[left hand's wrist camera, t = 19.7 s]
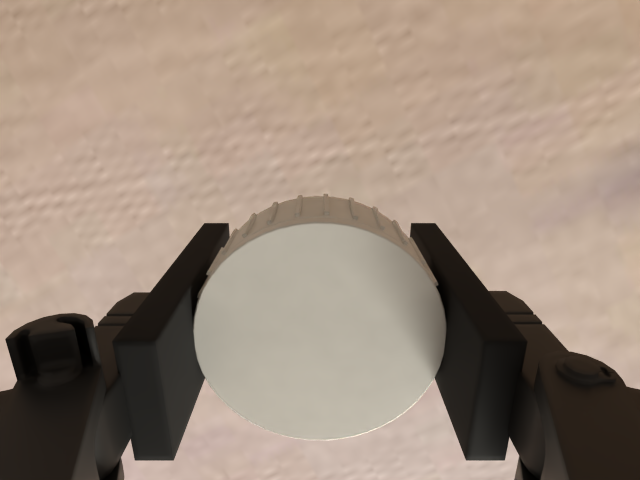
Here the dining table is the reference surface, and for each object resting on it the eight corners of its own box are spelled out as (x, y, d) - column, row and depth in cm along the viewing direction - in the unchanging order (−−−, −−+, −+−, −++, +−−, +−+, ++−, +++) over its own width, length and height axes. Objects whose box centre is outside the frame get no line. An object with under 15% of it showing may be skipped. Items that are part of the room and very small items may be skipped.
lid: (184, 213, 11) (155, 241, 9) (419, 174, 11) (441, 196, 9) (238, 400, 13) (224, 457, 11) (436, 372, 13) (458, 426, 11)
